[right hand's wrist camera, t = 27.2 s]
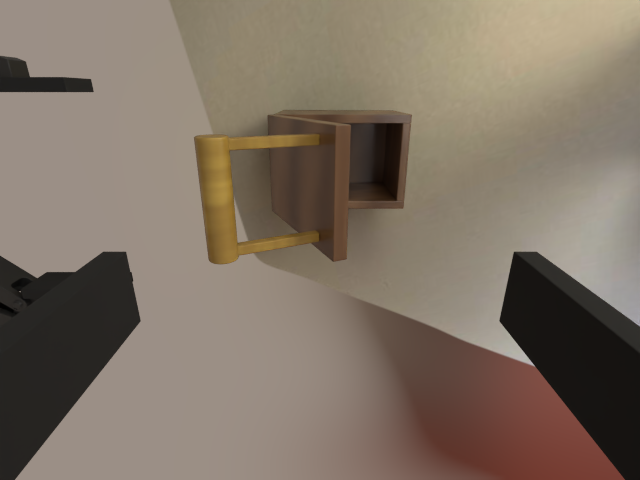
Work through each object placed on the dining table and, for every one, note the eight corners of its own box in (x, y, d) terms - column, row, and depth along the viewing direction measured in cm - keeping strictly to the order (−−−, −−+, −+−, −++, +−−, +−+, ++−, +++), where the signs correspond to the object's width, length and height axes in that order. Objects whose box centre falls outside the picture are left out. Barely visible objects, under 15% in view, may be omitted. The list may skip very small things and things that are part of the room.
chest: (393, 110, 43) (411, 114, 34) (387, 187, 46) (403, 208, 37) (283, 110, 43) (273, 114, 34) (285, 187, 46) (277, 208, 37)
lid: (351, 124, 22) (199, 130, 19) (346, 259, 26) (217, 285, 22) (278, 114, 34) (174, 116, 30) (282, 209, 37) (189, 221, 33)
